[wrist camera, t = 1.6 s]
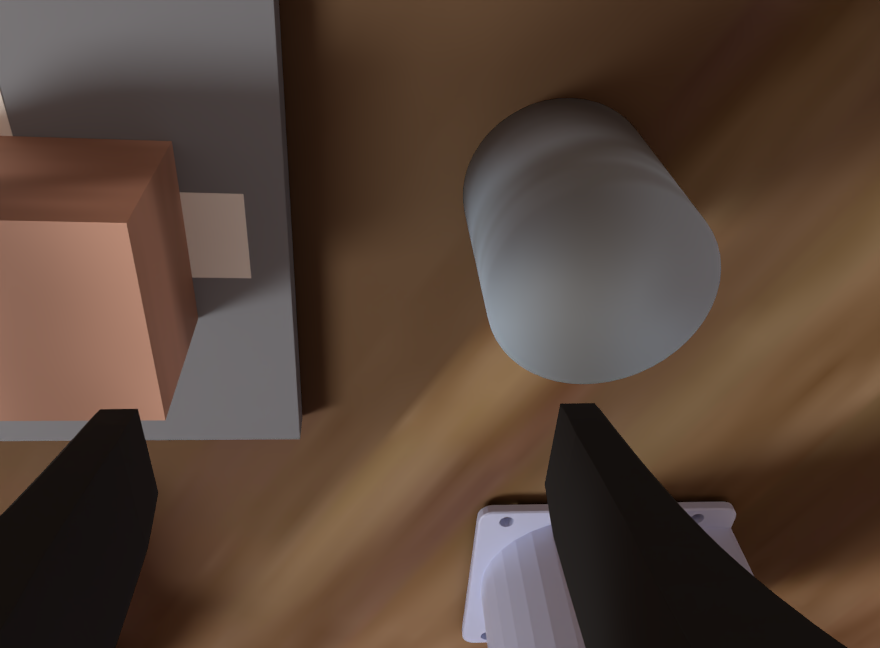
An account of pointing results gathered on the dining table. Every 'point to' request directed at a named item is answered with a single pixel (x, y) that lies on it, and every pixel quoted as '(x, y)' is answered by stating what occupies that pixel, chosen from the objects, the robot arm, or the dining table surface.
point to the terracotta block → (91, 278)
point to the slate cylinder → (585, 244)
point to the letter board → (183, 180)
